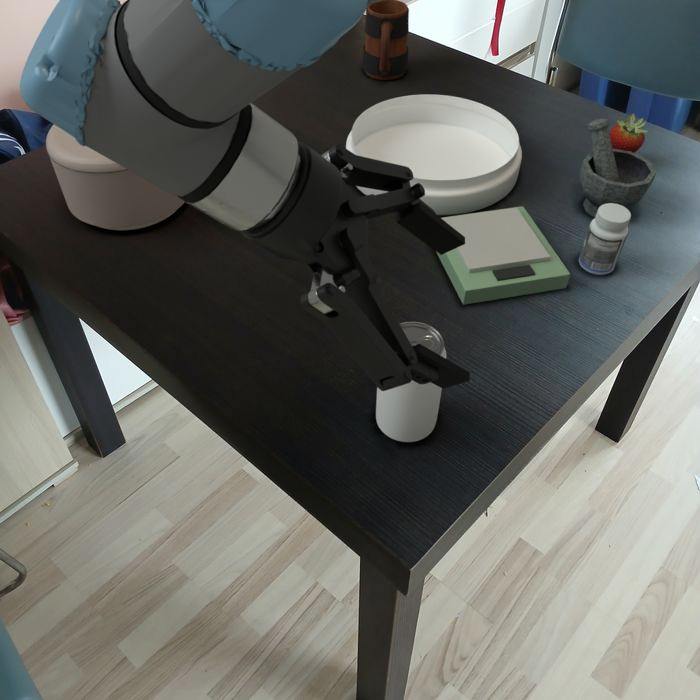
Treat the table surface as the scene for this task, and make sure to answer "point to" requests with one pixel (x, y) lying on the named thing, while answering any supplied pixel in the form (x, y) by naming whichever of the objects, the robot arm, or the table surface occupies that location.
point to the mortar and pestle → (612, 172)
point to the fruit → (628, 134)
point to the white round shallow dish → (442, 149)
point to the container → (105, 187)
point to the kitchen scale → (501, 257)
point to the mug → (386, 40)
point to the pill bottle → (605, 239)
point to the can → (411, 394)
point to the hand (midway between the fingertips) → (454, 310)
